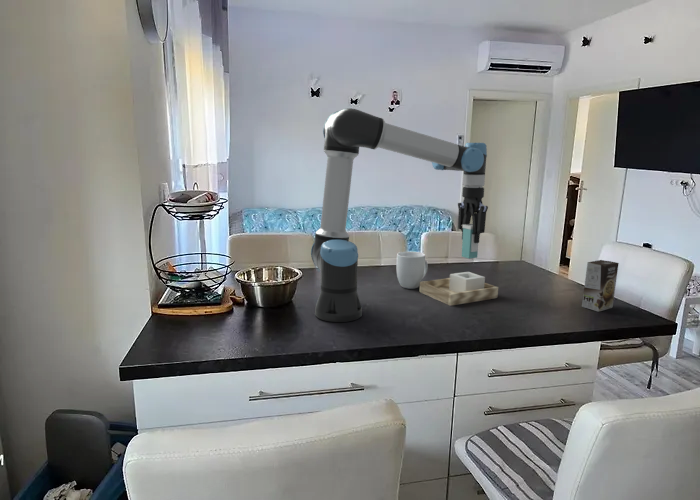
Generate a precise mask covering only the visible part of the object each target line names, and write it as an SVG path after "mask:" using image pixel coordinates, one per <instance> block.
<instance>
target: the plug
mask: <svg viewBox="0 0 700 500" xmlns="http://www.w3.org/2000/svg"><path fill="white" fill-rule="evenodd" d="M462 228H463V241H461V242H462V243H461V244H462V245H461V257H462V258H466V259H469V260H470V259H477V258H478V255H479V253H478V251H479V250H478V251H476V252H471V237H472V233H473V223H470V224H463V227H462Z"/></svg>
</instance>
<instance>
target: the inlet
mask: <svg viewBox="0 0 700 500" xmlns="http://www.w3.org/2000/svg"><path fill="white" fill-rule="evenodd" d="M449 278H450V283H449V289H450V290H452V291H455V292H457V293H458V292H464V291H471V290H477V289H484V284H485V283H486V282H485V281H486V277H485V276H483V275H479V274H477V273H474V272H470V271H464V272H455V273H450V274H449Z"/></svg>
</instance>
